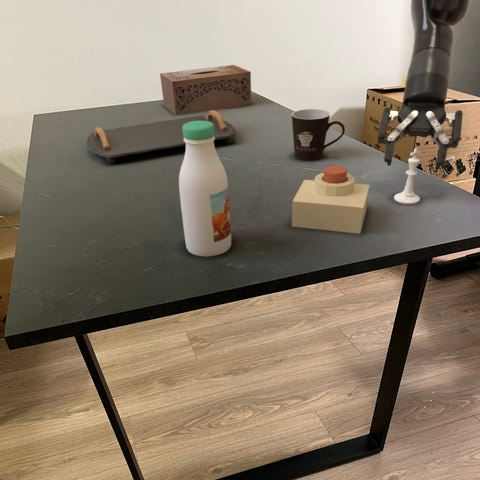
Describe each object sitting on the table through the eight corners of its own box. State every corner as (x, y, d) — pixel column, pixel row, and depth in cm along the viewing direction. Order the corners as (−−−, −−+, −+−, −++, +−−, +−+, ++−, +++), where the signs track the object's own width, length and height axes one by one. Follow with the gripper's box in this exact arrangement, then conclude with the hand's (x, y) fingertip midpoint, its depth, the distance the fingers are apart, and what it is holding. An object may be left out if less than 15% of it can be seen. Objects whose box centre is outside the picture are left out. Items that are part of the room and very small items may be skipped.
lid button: (347, 177, 84) (348, 166, 83) (344, 186, 81) (345, 174, 80) (325, 175, 85) (326, 164, 84) (321, 184, 82) (322, 172, 81)
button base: (366, 210, 88) (371, 174, 84) (360, 235, 81) (365, 197, 76) (303, 204, 92) (305, 169, 87) (291, 228, 84) (292, 190, 80)
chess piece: (388, 198, 92) (396, 146, 86) (409, 194, 93) (419, 143, 87) (402, 208, 89) (412, 154, 82) (425, 203, 90) (436, 151, 84)
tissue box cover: (235, 96, 165) (233, 64, 159) (251, 105, 154) (250, 71, 148) (164, 106, 158) (159, 73, 152) (176, 116, 147) (171, 81, 141)
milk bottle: (199, 263, 75) (186, 135, 63) (178, 244, 81) (162, 123, 68) (240, 249, 78) (234, 124, 66) (217, 232, 84) (208, 113, 71)
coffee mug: (282, 158, 113) (283, 114, 107) (306, 149, 117) (308, 107, 111) (320, 170, 106) (323, 123, 100) (344, 160, 110) (348, 115, 104)
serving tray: (214, 123, 139) (213, 101, 135) (246, 144, 122) (246, 119, 118) (82, 144, 128) (77, 120, 124) (97, 171, 111) (91, 144, 107)
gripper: (388, 69, 86) (374, 153, 84) (472, 71, 82) (459, 158, 80) (386, 94, 93) (372, 171, 91) (463, 96, 89) (451, 177, 88)
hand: (413, 165), depth 86 cm, fingers open, 8 cm apart
